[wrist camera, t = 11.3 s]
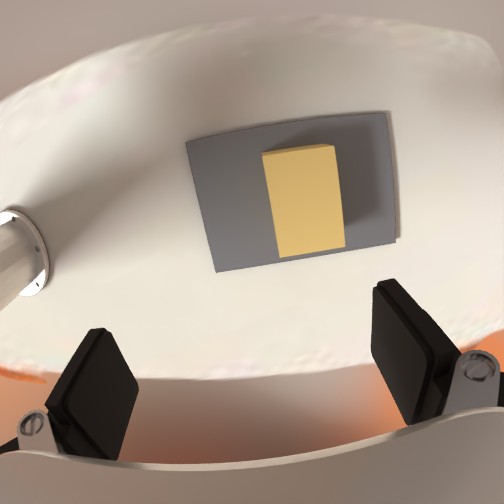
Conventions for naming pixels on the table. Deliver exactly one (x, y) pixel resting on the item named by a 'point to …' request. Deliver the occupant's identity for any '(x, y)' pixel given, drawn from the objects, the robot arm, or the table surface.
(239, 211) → the mat
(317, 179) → the box
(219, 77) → the table surface
